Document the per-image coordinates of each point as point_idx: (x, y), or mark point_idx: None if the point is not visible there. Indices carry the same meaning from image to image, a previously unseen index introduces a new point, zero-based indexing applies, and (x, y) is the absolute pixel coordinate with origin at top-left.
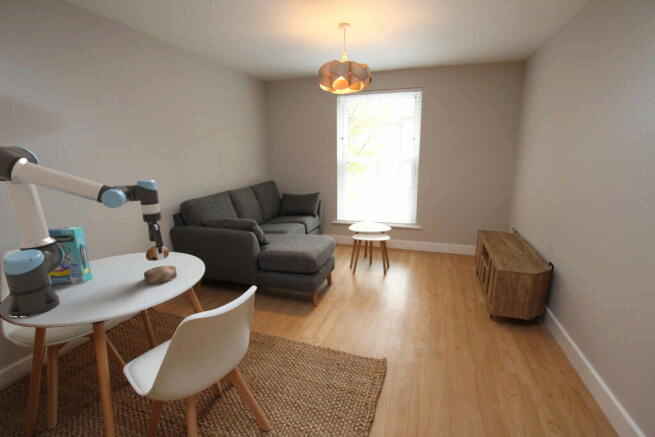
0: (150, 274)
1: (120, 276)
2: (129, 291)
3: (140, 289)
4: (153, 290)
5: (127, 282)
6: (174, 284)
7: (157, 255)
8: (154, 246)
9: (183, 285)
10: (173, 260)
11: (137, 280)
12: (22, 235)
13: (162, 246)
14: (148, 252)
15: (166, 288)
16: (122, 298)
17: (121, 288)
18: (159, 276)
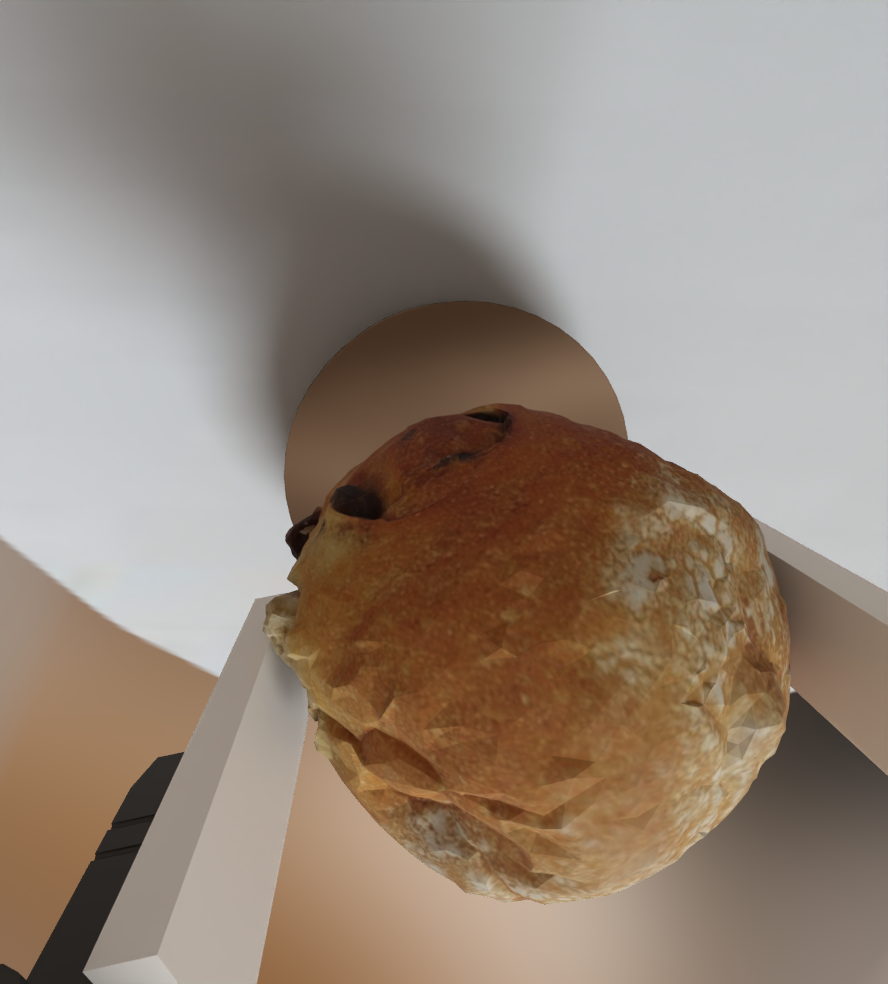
0: (398, 381)
1: (842, 6)
2: (229, 109)
3: (236, 244)
4: (142, 377)
5: (560, 95)
6: (221, 556)
7: (219, 681)
8: (564, 793)
9: (159, 618)
10: (853, 568)
11: (549, 221)
12: None
13: (521, 894)
14: (436, 531)
15: (146, 491)
16: (10, 3)
17: (389, 3)
18: (284, 474)
